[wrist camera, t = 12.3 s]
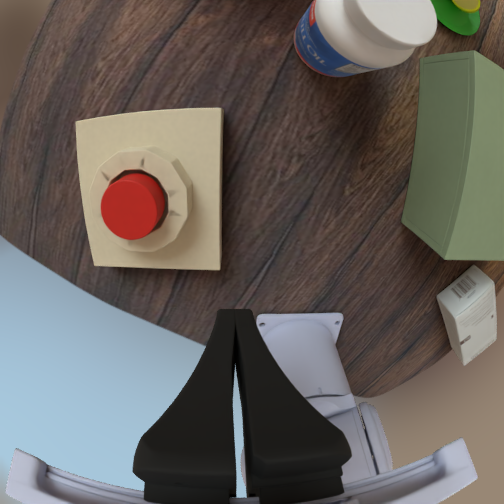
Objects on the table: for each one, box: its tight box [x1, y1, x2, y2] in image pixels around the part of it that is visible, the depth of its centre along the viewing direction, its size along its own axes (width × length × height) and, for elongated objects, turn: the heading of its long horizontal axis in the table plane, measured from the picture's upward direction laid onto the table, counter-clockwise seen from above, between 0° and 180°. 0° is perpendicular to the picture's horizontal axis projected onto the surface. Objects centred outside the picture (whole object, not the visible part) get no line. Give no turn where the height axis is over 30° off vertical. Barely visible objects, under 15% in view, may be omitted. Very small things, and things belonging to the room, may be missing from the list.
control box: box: [76, 108, 224, 270], centre depth 18 cm, size 11×10×4 cm
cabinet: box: [401, 51, 504, 260], centre depth 15 cm, size 10×14×7 cm
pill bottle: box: [294, 0, 437, 77], centre depth 11 cm, size 6×5×10 cm
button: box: [101, 173, 165, 240], centre depth 15 cm, size 4×4×2 cm
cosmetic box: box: [436, 265, 497, 366], centre depth 25 cm, size 6×4×12 cm
